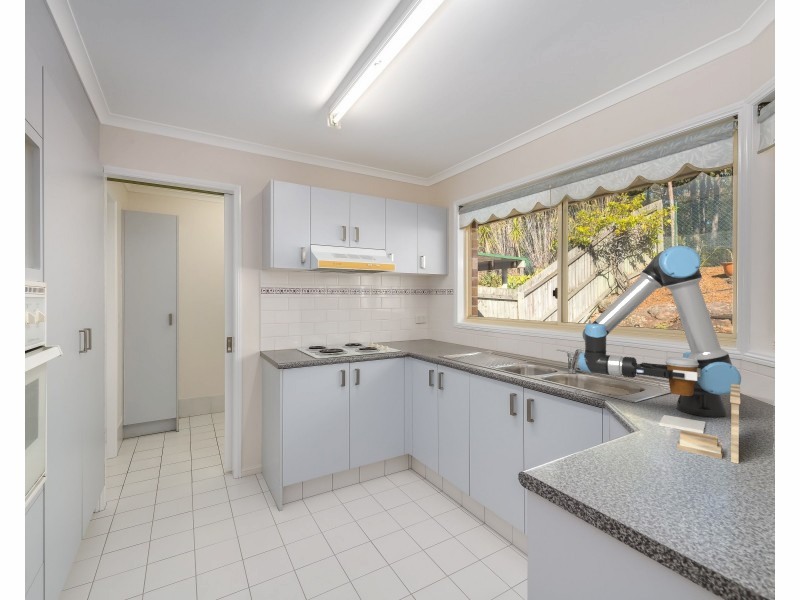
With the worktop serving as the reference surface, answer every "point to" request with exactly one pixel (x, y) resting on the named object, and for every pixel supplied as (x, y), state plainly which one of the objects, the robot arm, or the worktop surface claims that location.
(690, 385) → the disposable coffee cup
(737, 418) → the pine panel
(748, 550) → the worktop surface
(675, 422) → the white square coaster
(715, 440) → the offcut stack
